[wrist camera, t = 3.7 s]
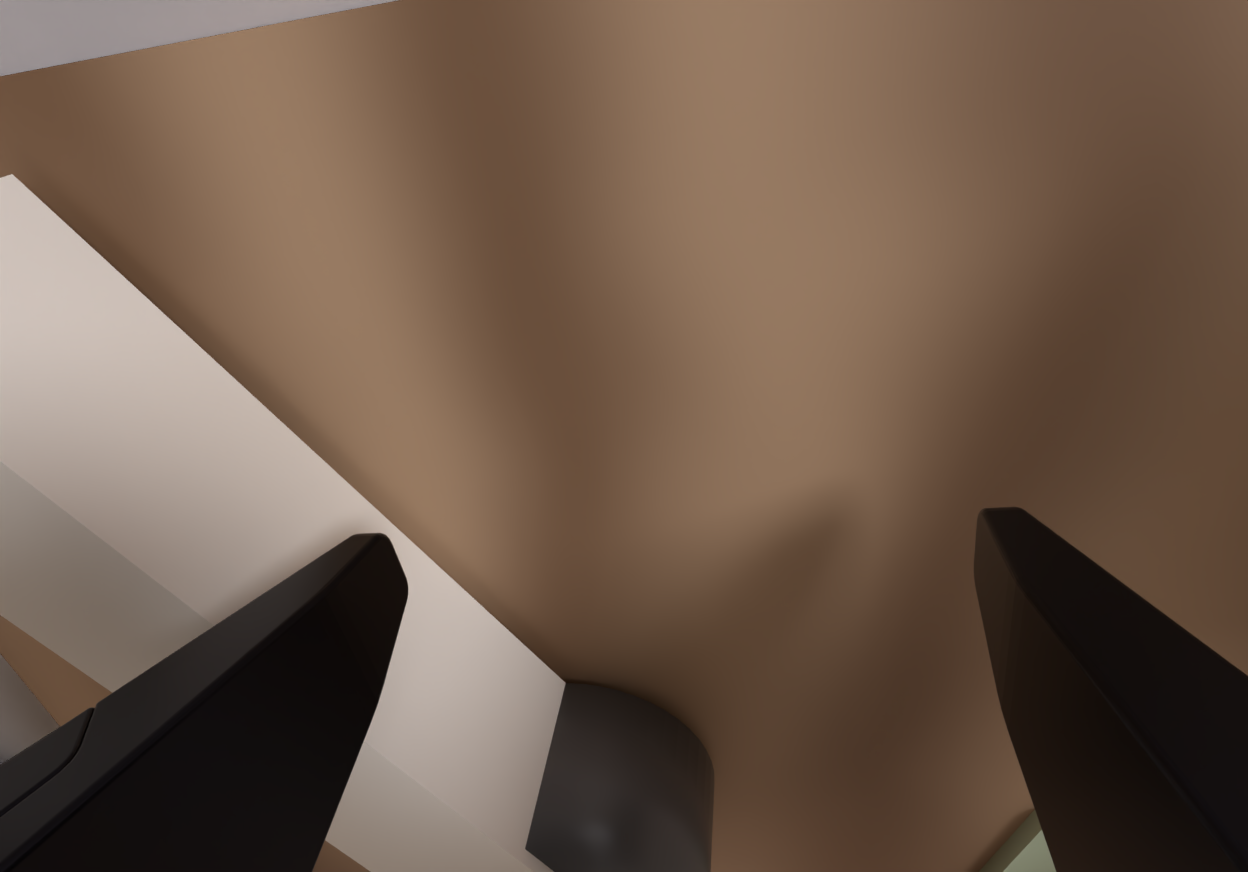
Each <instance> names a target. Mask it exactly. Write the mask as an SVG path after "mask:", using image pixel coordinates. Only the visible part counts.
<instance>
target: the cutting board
mask: <svg viewBox="0 0 1248 872" xmlns="http://www.w3.org/2000/svg"><path fill="white" fill-rule="evenodd" d="M11 174H13V175H14V176H15V177H16V178H17V179H18V180H19V181H20V182H21V183H22V184H24V185H25V186H26V187H27V188H28V189H29V190H30V191H31V192H32V193H33V194H34V195H36V196H37V197H38V198H39V199H40V200H41V201H42V202H43V203H44V204H45V205H46V206H48V207H49V208H50V209H51V210H52V211H53V212H54V213H55V214H56V215H57V216H58V217H59V218H61V219H62V220H63V221H64V222H65V223H66V224H67V225H68V226H69V227H70V228H71V229H73V230H74V231H75V232H76V233H77V234H78V235H79V236H80V237H81V238H82V239H83V240H84V241H86V242H87V243H88V244H89V245H90V246H91V247H92V248H93V249H94V250H95V251H96V252H98V253H99V254H100V255H101V256H102V257H103V258H104V259H105V260H106V261H107V262H108V263H110V264H111V265H112V266H113V267H114V268H115V269H116V270H117V271H118V272H119V273H120V274H121V275H123V276H124V277H125V278H126V279H127V280H128V281H129V282H130V283H131V284H132V285H133V286H135V287H136V288H137V289H138V290H139V291H140V292H141V293H142V294H143V295H144V296H145V297H146V298H148V299H149V300H150V301H151V302H152V303H153V304H154V305H155V306H156V307H157V308H158V309H160V310H161V311H162V312H163V313H164V314H165V315H166V316H167V317H168V318H169V319H170V320H171V321H173V322H174V323H175V324H176V325H177V326H178V327H179V328H180V329H181V330H182V331H183V332H185V333H186V334H187V335H188V336H189V337H190V338H191V339H192V340H193V341H194V342H195V343H197V344H198V345H199V346H200V347H201V348H202V349H203V350H204V351H205V352H206V353H207V354H208V355H210V356H211V357H212V358H213V359H214V360H215V361H216V362H217V363H218V364H219V365H220V366H222V367H223V368H224V369H225V370H226V371H227V372H228V373H229V374H230V375H231V376H232V377H233V378H235V379H236V380H237V381H238V382H239V383H240V384H241V385H242V386H243V387H244V388H245V389H247V390H248V391H249V392H250V393H251V394H252V395H253V396H254V397H255V398H256V399H257V400H259V401H260V402H261V403H262V404H263V405H264V406H265V407H266V408H267V409H268V410H269V411H270V412H272V413H273V414H274V415H275V416H276V417H277V418H278V419H279V420H280V421H281V422H282V423H284V424H285V425H286V426H287V427H288V428H289V429H290V430H291V431H292V432H293V433H294V434H295V435H297V436H298V437H299V438H300V439H301V440H302V441H303V442H304V443H305V444H306V445H307V446H309V447H310V448H311V449H312V450H313V451H314V452H315V453H316V454H317V455H318V456H319V457H320V458H322V459H323V460H324V461H325V462H326V463H327V464H328V465H329V466H330V467H331V468H332V469H334V470H335V471H336V472H337V473H338V474H339V475H340V476H341V477H342V478H343V479H344V480H346V481H347V482H348V483H349V484H350V485H351V486H352V487H353V488H354V489H355V490H356V491H357V492H359V493H360V494H361V495H362V496H363V497H364V498H365V499H366V500H367V501H368V502H369V503H371V504H372V505H373V506H374V507H375V508H376V509H377V510H378V511H379V512H380V513H381V514H382V515H384V516H385V517H386V518H387V519H388V520H389V521H390V522H391V523H392V524H393V525H394V526H396V527H397V528H398V529H399V530H400V531H401V532H402V533H403V534H404V535H405V536H406V537H408V538H409V539H410V540H411V541H412V542H413V543H414V544H415V545H416V546H417V547H418V548H419V549H421V550H422V551H423V552H424V553H425V554H426V555H427V556H428V557H429V558H430V559H431V560H433V561H434V562H435V563H436V564H437V565H438V566H439V567H440V568H441V569H442V570H443V571H444V572H446V573H447V574H448V575H449V576H450V577H451V578H452V579H453V580H454V581H455V582H456V583H458V584H459V585H460V586H461V587H462V588H463V589H464V590H465V591H466V592H467V593H468V594H469V595H471V596H472V597H473V598H474V599H475V600H476V601H477V602H478V603H479V604H480V605H481V606H483V607H484V608H485V609H486V610H487V611H488V612H489V613H490V614H491V615H492V616H493V617H495V618H496V619H497V620H498V621H499V622H500V623H501V624H502V625H503V626H504V627H505V628H506V629H508V630H509V631H510V632H511V633H512V634H513V635H514V636H515V637H516V638H517V639H518V640H520V641H521V642H522V643H523V644H524V645H525V646H526V647H527V648H528V649H529V650H530V651H531V652H533V653H534V654H535V655H536V656H537V657H538V658H539V659H540V660H541V661H542V662H543V663H545V664H546V665H547V666H548V667H549V668H550V669H551V670H552V671H553V672H554V673H555V674H557V675H558V676H559V677H560V678H561V679H562V680H563V681H564V682H565V683H576V684H588V685H595V686H601V687H606V688H610V689H614V690H619V691H622V692H625V693H628V694H631V695H634V696H637V697H639V698H641V699H644V700H646V701H648V702H651V703H653V704H655V705H656V706H658V707H660V708H662V709H664V710H666V711H667V712H669V713H670V714H671V715H673V716H674V717H676V718H677V719H679V720H680V721H681V722H682V723H684V724H685V725H686V726H687V727H688V728H689V729H690V730H691V731H692V732H693V733H694V734H695V735H696V736H697V737H698V738H699V740H700V741H701V742H702V744H703V745H704V747H705V748H706V750H707V752H708V754H709V756H710V759H711V761H712V765H713V769H714V805H713V829H712V853H711V872H1056V870H1055V867H1054V864H1053V861H1052V858H1051V855H1050V852H1049V849H1048V846H1047V843H1046V840H1045V838H1044V835H1043V832H1042V829H1041V826H1040V823H1039V820H1038V817H1037V814H1036V811H1035V808H1034V806H1033V803H1032V800H1031V797H1030V794H1029V791H1028V788H1027V785H1026V782H1025V779H1024V776H1023V774H1022V771H1021V768H1020V765H1019V762H1018V759H1017V756H1016V753H1015V750H1014V747H1013V745H1012V742H1011V739H1010V736H1009V733H1008V730H1007V726H1006V723H1005V720H1004V717H1003V714H1002V710H1001V706H1000V702H999V698H998V693H997V689H996V684H995V679H994V675H993V670H992V665H991V660H990V655H989V650H988V646H987V641H986V636H985V631H984V626H983V621H982V617H981V612H980V607H979V602H978V597H977V592H976V587H975V581H974V553H975V540H976V527H977V517H978V514H979V512H980V511H981V510H982V509H984V508H996V507H1019V508H1022V509H1024V510H1025V511H1027V512H1028V513H1030V514H1031V515H1032V516H1034V517H1035V518H1036V519H1038V520H1039V521H1040V522H1042V523H1043V524H1044V525H1046V526H1047V527H1048V528H1050V529H1051V530H1052V531H1054V532H1055V533H1056V534H1058V535H1059V536H1061V537H1062V538H1063V539H1065V540H1066V541H1067V542H1069V543H1070V544H1071V545H1073V546H1074V547H1075V548H1077V549H1078V550H1079V551H1081V552H1082V553H1083V554H1085V555H1086V556H1087V557H1089V558H1090V559H1091V560H1093V561H1094V562H1096V563H1097V564H1098V565H1100V566H1101V567H1102V568H1104V569H1105V570H1106V571H1108V572H1109V573H1110V574H1112V575H1113V576H1114V577H1116V578H1117V579H1118V580H1120V581H1121V582H1122V583H1124V584H1125V585H1126V586H1128V587H1129V588H1131V589H1132V590H1133V591H1135V592H1136V593H1137V594H1139V595H1140V596H1141V597H1143V598H1144V599H1145V600H1147V601H1148V602H1149V603H1151V604H1152V605H1153V606H1155V607H1156V608H1157V609H1159V610H1160V611H1161V612H1163V613H1164V614H1166V615H1167V616H1168V617H1170V618H1171V619H1172V620H1174V621H1175V622H1176V623H1178V624H1179V625H1180V626H1182V627H1183V628H1184V629H1186V630H1187V631H1188V632H1190V633H1191V634H1192V635H1194V636H1195V637H1196V638H1198V639H1199V640H1201V641H1202V642H1203V643H1205V644H1206V645H1207V646H1209V647H1210V648H1211V649H1213V650H1214V651H1215V652H1217V653H1218V654H1219V655H1221V656H1222V657H1223V658H1225V659H1226V660H1227V661H1229V662H1230V663H1231V664H1233V665H1234V666H1235V667H1237V668H1238V669H1240V670H1241V671H1242V672H1244V673H1245V674H1246V675H1248V0H399V1H393V2H388V3H383V4H378V5H372V6H367V7H362V8H357V9H351V10H346V11H341V12H336V13H330V14H325V15H320V16H315V17H309V18H304V19H299V20H294V21H288V22H283V23H278V24H273V25H267V26H262V27H257V28H252V29H247V30H241V31H236V32H231V33H226V34H220V35H215V36H210V37H205V38H199V39H194V40H189V41H184V42H178V43H173V44H168V45H163V46H157V47H152V48H147V49H142V50H136V51H131V52H126V53H121V54H116V55H110V56H105V57H100V58H95V59H89V60H84V61H79V62H74V63H68V64H63V65H58V66H53V67H47V68H42V69H37V70H32V71H26V72H21V73H16V74H11V75H5V76H0V178H2V177H5V176H8V175H11ZM0 654H1V655H2V656H3V657H4V658H5V660H6V661H7V662H8V663H9V665H10V666H11V667H12V668H13V669H14V671H15V672H16V673H17V674H18V676H19V677H20V678H21V679H22V680H23V682H24V683H25V684H26V685H27V687H28V688H29V689H30V690H31V691H32V693H33V694H34V695H35V696H36V698H37V699H38V700H39V701H40V702H41V704H42V705H43V706H44V707H45V709H46V710H47V711H48V712H49V714H50V715H51V716H52V717H53V718H54V720H55V721H56V722H57V723H58V725H59V726H60V727H61V726H62V725H64V724H65V723H67V722H68V721H70V720H71V719H73V718H74V717H76V716H77V715H79V714H80V713H82V712H83V711H85V710H86V709H88V708H90V707H93V708H95V706H96V704H97V703H98V702H99V701H101V700H102V699H104V698H105V697H107V696H108V695H110V694H111V693H112V692H111V691H109V690H108V689H106V688H105V687H103V686H102V685H100V684H99V683H98V682H96V681H95V680H93V679H92V678H90V677H89V676H87V675H86V674H85V673H83V672H82V671H80V670H79V669H77V668H76V667H74V666H73V665H72V664H70V663H69V662H67V661H66V660H64V659H63V658H61V657H60V656H59V655H57V654H56V653H54V652H53V651H51V650H50V649H48V648H47V647H46V646H44V645H43V644H41V643H40V642H38V641H37V640H35V639H34V638H33V637H31V636H30V635H28V634H27V633H25V632H24V631H22V630H21V629H20V628H18V627H17V626H15V625H14V624H12V623H11V622H10V621H8V620H7V619H5V618H4V617H2V616H1V615H0ZM313 872H370V871H369V870H367V869H366V868H365V867H363V866H362V865H360V864H359V863H357V862H356V861H354V860H353V859H352V858H350V857H349V856H347V855H346V854H344V853H343V852H341V851H340V850H339V849H337V848H336V847H334V846H333V845H331V844H330V843H328V842H327V841H326V840H325V841H324V844H323V846H322V849H321V851H320V854H319V856H318V859H317V862H316V864H315V867H314V869H313Z"/></svg>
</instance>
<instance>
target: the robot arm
mask: <svg viewBox="0 0 1248 872" xmlns="http://www.w3.org/2000/svg"><path fill="white" fill-rule="evenodd" d="M974 581H975V587H976V592H977V597H978V602H979V607H980V612H981V617H982V621H983V626H984V631H985V636H986V641H987V646H988V650H989V655H990V660H991V665H992V670H993V675H994V679H995V684H996V689H997V693H998V698H999V702H1000V706H1001V710H1002V714H1003V717H1004V720H1005V723H1006V726H1007V730H1008V733H1009V736H1010V739H1011V742H1012V745H1013V747H1014V750H1015V753H1016V756H1017V759H1018V762H1019V765H1020V768H1021V771H1022V774H1023V776H1024V779H1025V782H1026V785H1027V788H1028V791H1029V794H1030V797H1031V800H1032V803H1033V806H1034V808H1035V811H1036V814H1037V817H1038V820H1039V823H1040V826H1041V829H1042V832H1043V835H1044V838H1045V840H1046V843H1047V846H1048V849H1049V852H1050V855H1051V858H1052V861H1053V864H1054V867H1055V870H1056V872H1248V675H1246V674H1245V673H1244V672H1242V671H1241V670H1240V669H1238V668H1237V667H1235V666H1234V665H1233V664H1231V663H1230V662H1229V661H1227V660H1226V659H1225V658H1223V657H1222V656H1221V655H1219V654H1218V653H1217V652H1215V651H1214V650H1213V649H1211V648H1210V647H1209V646H1207V645H1206V644H1205V643H1203V642H1202V641H1201V640H1199V639H1198V638H1196V637H1195V636H1194V635H1192V634H1191V633H1190V632H1188V631H1187V630H1186V629H1184V628H1183V627H1182V626H1180V625H1179V624H1178V623H1176V622H1175V621H1174V620H1172V619H1171V618H1170V617H1168V616H1167V615H1166V614H1164V613H1163V612H1161V611H1160V610H1159V609H1157V608H1156V607H1155V606H1153V605H1152V604H1151V603H1149V602H1148V601H1147V600H1145V599H1144V598H1143V597H1141V596H1140V595H1139V594H1137V593H1136V592H1135V591H1133V590H1132V589H1131V588H1129V587H1128V586H1126V585H1125V584H1124V583H1122V582H1121V581H1120V580H1118V579H1117V578H1116V577H1114V576H1113V575H1112V574H1110V573H1109V572H1108V571H1106V570H1105V569H1104V568H1102V567H1101V566H1100V565H1098V564H1097V563H1096V562H1094V561H1093V560H1091V559H1090V558H1089V557H1087V556H1086V555H1085V554H1083V553H1082V552H1081V551H1079V550H1078V549H1077V548H1075V547H1074V546H1073V545H1071V544H1070V543H1069V542H1067V541H1066V540H1065V539H1063V538H1062V537H1061V536H1059V535H1058V534H1056V533H1055V532H1054V531H1052V530H1051V529H1050V528H1048V527H1047V526H1046V525H1044V524H1043V523H1042V522H1040V521H1039V520H1038V519H1036V518H1035V517H1034V516H1032V515H1031V514H1030V513H1028V512H1027V511H1025V510H1024V509H1022V508H1019V507H996V508H984V509H982V510H981V511H980V512H979V514H978V517H977V527H976V540H975V553H974ZM407 599H408V582H407V578H406V576H405V573H404V571H403V568H402V566H401V564H400V561H399V559H398V556H397V554H396V552H395V549H394V547H393V544H392V542H391V540H390V539H389V537H388V536H387V535H385V534H383V533H360V534H354V535H352V536H350V537H349V538H347V539H346V540H344V541H342V542H341V543H339V544H338V545H336V546H335V547H333V548H332V549H330V550H329V551H327V552H326V553H324V554H323V555H321V556H320V557H318V558H317V559H315V560H314V561H312V562H311V563H309V564H307V565H306V566H304V567H303V568H301V569H300V570H298V571H297V572H295V573H294V574H292V575H291V576H289V577H288V578H286V579H285V580H283V581H282V582H280V583H279V584H277V585H276V586H274V587H272V588H271V589H269V590H268V591H266V592H265V593H263V594H262V595H260V596H259V597H257V598H256V599H254V600H253V601H251V602H250V603H248V604H247V605H245V606H244V607H242V608H241V609H239V610H238V611H236V612H234V613H233V614H231V615H230V616H228V617H227V618H225V619H224V620H222V621H221V622H219V623H218V624H216V625H215V626H213V627H212V628H210V629H209V630H207V631H206V632H204V633H203V634H201V635H199V636H198V637H196V638H195V639H193V640H192V641H190V642H189V643H187V644H186V645H184V646H183V647H181V648H180V649H178V650H177V651H175V652H174V653H172V654H171V655H169V656H168V657H166V658H164V659H163V660H161V661H160V662H158V663H157V664H155V665H154V666H152V667H151V668H149V669H148V670H146V671H145V672H143V673H142V674H140V675H139V676H137V677H136V678H134V679H133V680H131V681H129V682H128V683H126V684H125V685H123V686H122V687H120V688H119V689H117V690H116V691H114V692H113V693H111V694H110V695H108V696H107V697H105V698H104V699H102V700H101V701H99V702H98V703H97V704H96V706H95V708H93V707H90V708H88V709H86V710H85V711H83V712H82V713H80V714H79V715H77V716H76V717H74V718H73V719H71V720H70V721H68V722H67V723H65V724H64V725H62V726H61V727H59V728H58V729H56V730H55V731H53V732H51V733H50V734H48V735H47V736H45V737H44V738H42V739H40V740H39V741H37V742H36V743H34V744H33V745H31V746H30V747H28V748H26V749H25V750H23V751H22V752H20V753H19V754H17V755H15V756H14V757H12V758H11V759H9V760H8V761H6V762H4V763H3V764H1V765H0V872H313V869H314V867H315V864H316V862H317V859H318V856H319V854H320V851H321V849H322V846H323V844H324V841H325V839H326V836H327V834H328V831H329V828H330V826H331V823H332V821H333V818H334V816H335V813H336V811H337V808H338V806H339V803H340V800H341V798H342V795H343V793H344V790H345V788H346V785H347V783H348V780H349V778H350V775H351V772H352V770H353V767H354V765H355V762H356V760H357V757H358V755H359V752H360V750H361V747H362V744H363V742H364V739H365V737H366V734H367V732H368V729H369V727H370V724H371V722H372V719H373V716H374V713H375V711H376V708H377V705H378V702H379V699H380V696H381V693H382V689H383V686H384V683H385V679H386V675H387V672H388V668H389V665H390V661H391V657H392V654H393V650H394V646H395V643H396V639H397V636H398V632H399V628H400V625H401V621H402V617H403V614H404V610H405V606H406V603H407Z"/></svg>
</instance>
